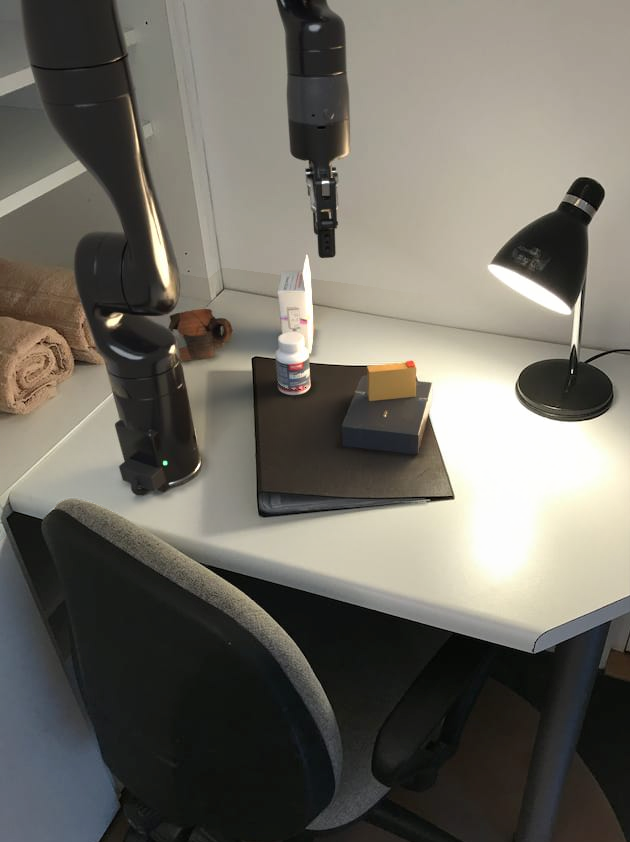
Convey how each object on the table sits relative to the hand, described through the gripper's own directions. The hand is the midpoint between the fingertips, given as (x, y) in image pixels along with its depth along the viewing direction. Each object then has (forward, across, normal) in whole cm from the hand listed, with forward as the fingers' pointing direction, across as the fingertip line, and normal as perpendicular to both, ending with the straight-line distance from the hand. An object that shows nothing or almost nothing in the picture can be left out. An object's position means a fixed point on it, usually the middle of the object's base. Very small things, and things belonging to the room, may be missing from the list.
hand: (324, 244), depth 101 cm
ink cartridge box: (+25, -21, -4) cm, 33 cm away
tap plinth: (+26, +6, +8) cm, 27 cm away
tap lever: (+22, +4, +9) cm, 24 cm away
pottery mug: (+26, -22, -21) cm, 39 cm away
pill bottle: (+26, -6, -5) cm, 27 cm away
